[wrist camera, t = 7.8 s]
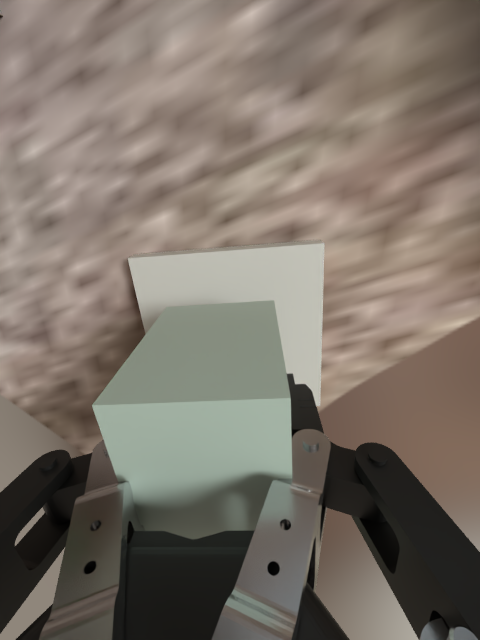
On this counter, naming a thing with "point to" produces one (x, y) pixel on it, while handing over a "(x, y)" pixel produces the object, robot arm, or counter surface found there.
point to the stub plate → (245, 291)
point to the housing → (201, 418)
